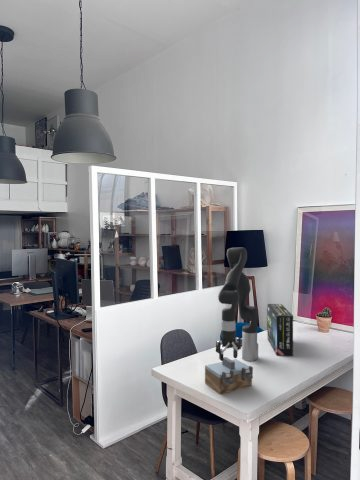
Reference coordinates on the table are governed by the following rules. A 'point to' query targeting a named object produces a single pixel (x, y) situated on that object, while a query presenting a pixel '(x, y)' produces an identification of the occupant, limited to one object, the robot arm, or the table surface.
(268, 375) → the table surface
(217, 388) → the brown wooden open box
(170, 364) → the table surface
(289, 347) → the router box
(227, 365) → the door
